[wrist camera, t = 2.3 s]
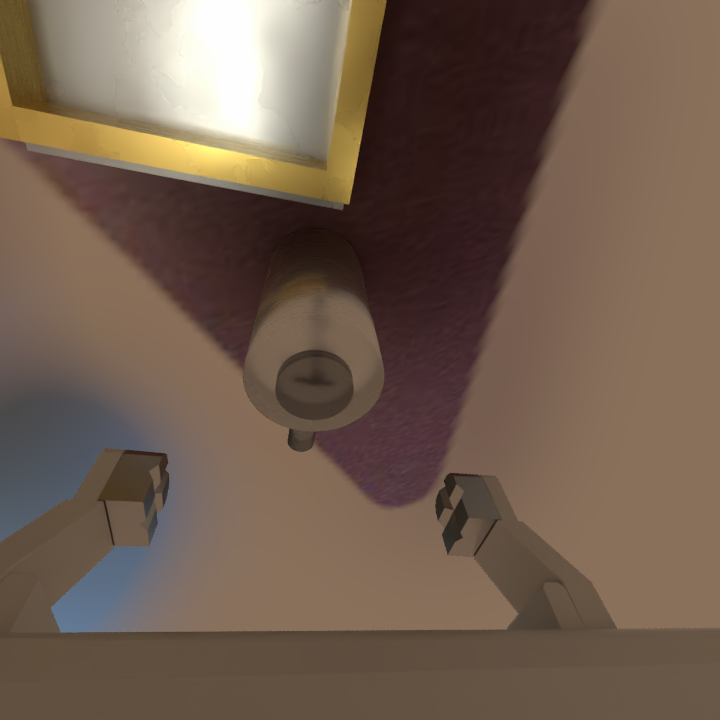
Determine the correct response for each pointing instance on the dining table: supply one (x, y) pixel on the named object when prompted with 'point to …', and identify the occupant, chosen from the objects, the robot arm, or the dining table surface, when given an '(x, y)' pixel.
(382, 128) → the dining table surface
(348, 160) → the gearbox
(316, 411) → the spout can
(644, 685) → the robot arm
